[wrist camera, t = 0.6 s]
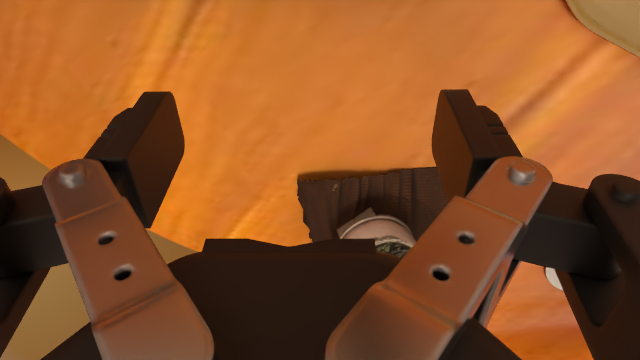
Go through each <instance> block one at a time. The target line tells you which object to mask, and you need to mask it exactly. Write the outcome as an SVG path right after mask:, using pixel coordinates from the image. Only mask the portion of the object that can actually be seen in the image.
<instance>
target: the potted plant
mask: <svg viewBox="0 0 640 360" xmlns="http://www.w3.org/2000/svg"><path fill="white" fill-rule="evenodd" d="M297 184H298V194H297V196H299V199H298V200H299V202H300V204H301V205H302V207H303V209H304V211H303V222H304V223H305V224H306V225H307V226H308V227H309V229H310V232H309V237H310V238H311V239H312V241H313V242H318V241H323V240H328V239H375V246H376V251H378V252H383V253H386V254H389V255H392V256H395V257H397V258H399V259H403V258H404V256H405V255H406V254H407V253H408V252H409V250H410V249H411V248H412V247H413V246H414V244H415V243H416V242H417V241H418V240H419V238H420V237H421V236H422V235H423V234H424V232H425V231H426V230H427V229H428V228H429V226H430V225H431V224H432V223H433V222H434V220H435V219H436V218H437V217H438V216H439V214H440V213H441V212H442V211H443V210H444V208H445V207H446V206H447V205H448V200H447V197H446V194H445V191H444V188H443V185H442V182H441V178H440V175H439V172H438V169H437V167H431V168H414V169H412V170H401V171H400V172H398V171H393V172H388V174H386V175H383V174H380V175H379V176H378V175H375V176H371V175H370V176H363V177H362V178H359V179H355V178H354V177H350V178H349V179H345V178H343V179H341V180H336V179H331V180H313V181H311V180H308V181H307V180H304V182H303V181H301V180H299V179H298V180H297Z"/></svg>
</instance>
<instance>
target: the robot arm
mask: <svg viewBox="0 0 640 360" xmlns="http://www.w3.org/2000/svg"><path fill="white" fill-rule="evenodd" d="M184 146H185V144H184V135H183V131H182V127H181V123H180V119H179V115H178V111H177V107H176V103H175V99H174V96H173V94H172V93H171V92H144V93H143V94H142V95H141V97H140V98H139V99H138V101H137V102H136V104H135V105H134V106H133V108H127V109H126V110H124V111H123V112H121V113H120V114H118V115H117V116H115V117H114V118H113V120H112V121H111V122H110V124H109V125H108V126H107V129H105V130H104V131H103V133H102V134H101V137H99V138H98V139H97V141H96V142H95V143H94V145H93V146H92V147H91V149H90V150H89V151H88V153H87V154H86V155H85V157H84V158H83V159H77V160H72V161H69V162H66V163H63V164H61V165H59V166H57V167H55V168H53V169H52V170H51V171H49V172H48V173H47V174H46V176H45V177H44V179H43V181H42V185H41V186H36V187H31V188H26V189H20V190H15V191H11V190H10V189H9V187H8V185H7V183H6V182H5V180H4V179H2V178H0V357H1V355H2V354H3V352H4V350H5V348H6V347H7V345H8V343H9V341H10V340H11V338H12V336H13V334H14V332H15V331H16V329H17V327H18V325H19V324H20V322H21V320H22V318H23V316H24V315H25V312H26V310H27V309H28V307H29V306H30V304H31V302H32V300H33V299H34V297H35V295H36V293H37V291H38V290H39V288H40V286H41V284H42V283H43V281H44V279H45V277H46V275H47V274H48V272H49V270H50V268H51V267H53V266H58V265H61V264H66V263H69V265H70V267H71V270H72V273H73V276H74V278H75V281H76V284H77V286H78V289H79V292H80V294H81V297H82V300H83V302H84V305H85V308H86V310H87V313H88V316H89V318H90V321H91V322H89V323H88V324H87V325H85V326H84V327H83V328H81V329H80V330H79V331H78V332H76V333H75V334H74V335H72V336H71V337H70V338H68V339H67V340H66V341H64V342H63V343H62V344H60V345H59V346H58V347H56V348H55V349H54V350H53V351H51V352H50V353H48V354H47V355H46V356H45V357H43V358H42V359H41V360H522V359H520V358H519V357H518V356H517V355H516V354H515V353H514V352H512V351H511V350H510V349H509V348H508V347H507V346H506V345H504V344H503V343H502V342H501V341H500V340H499V339H498V338H496V337H495V336H494V335H493V334H492V333H491V332H490V331H488V330H487V329H486V327H487V325H488V323H489V321H490V318H491V316H492V314H493V312H494V310H495V308H496V306H497V304H498V303H499V301H500V299H501V297H502V295H503V294H504V292H505V290H506V288H507V286H508V285H509V283H510V281H511V279H512V277H513V276H514V274H515V272H516V270H517V268H518V267H519V265H520V263H521V261H524V262H528V263H532V264H536V265H540V266H544V267H548V268H552V269H555V272H556V275H557V277H558V279H559V281H560V284H561V286H562V288H563V291H564V293H565V295H566V297H567V300H568V302H569V304H570V307H571V309H572V311H573V313H574V316H575V318H576V320H577V322H578V325H579V327H580V329H581V332H582V334H583V336H584V338H585V341H586V343H587V345H588V348H589V350H590V352H591V354H592V357H593V359H594V360H640V181H638V180H636V179H633V178H631V177H627V176H623V175H617V174H604V175H600V176H597V177H595V178H594V179H593V180H592V182H591V184H590V186H589V188H588V189H584V188H579V187H574V186H569V185H564V184H559V183H556V182H552V181H553V178H552V175H551V173H550V171H549V170H548V169H547V168H546V167H544V166H543V165H541V164H540V163H538V162H536V161H533V160H531V159H527V158H523V156H522V155H521V153H520V151H519V150H518V148H517V147H516V145H515V143H514V142H513V140H512V138H511V137H510V135H508V132H507V130H506V128H505V127H503V123H502V122H501V120H500V118H499V117H498V115H497V114H496V113H494V112H493V111H492V110H490V109H489V108H487V107H486V106H477V105H476V104H475V102H474V100H473V98H472V96H471V94H470V93H469V91H468V90H467V89H459V90H441V91H440V94H439V97H438V103H437V109H436V115H435V121H434V128H433V134H432V153H433V157H434V160H435V163H436V166H437V169H438V172H439V175H440V178H441V182H442V185H443V188H444V191H445V194H446V197H447V200H448V205H447V206H446V207H445V208H444V210H443V211H442V212H441V213H440V214H439V216H438V217H437V218H436V219H435V220H434V222H433V223H432V224H431V225H430V226H429V228H428V229H427V230H426V231H425V232H424V234H423V235H422V236H421V237H420V238H419V240H418V241H417V242H416V243H415V244H414V246H413V247H412V248H411V249H410V250H409V252H408V253H407V254H406V255H405V256H404V258H403V259H399V258H397V257H395V256H392V255H389V254H386V253H383V252H378V251H376V246H375V239H328V240H323V241H318V242H313V243H308V244H302V245H297V246H291V247H287V246H281V245H276V244H271V243H266V242H261V241H256V240H251V239H206V240H205V243H204V247H203V250H202V252H197V253H194V254H190V255H187V256H184V257H182V258H179V259H177V260H175V261H173V262H171V263H169V264H166V263H165V261H164V259H163V257H162V256H161V254H160V253H159V251H158V249H157V248H156V246H155V244H154V243H153V241H152V239H151V238H150V236H149V234H148V233H147V231H146V229H145V228H151V226H152V223H153V221H154V219H155V217H156V215H157V212H158V210H159V208H160V206H161V204H162V201H163V199H164V197H165V195H166V192H167V190H168V188H169V186H170V184H171V181H172V179H173V177H174V175H175V173H176V170H177V168H178V166H179V164H180V161H181V159H182V157H183V154H184Z"/></svg>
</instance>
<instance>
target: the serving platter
mask: <svg viewBox="0 0 640 360" xmlns="http://www.w3.org/2000/svg"><path fill="white" fill-rule="evenodd" d="M566 3H567V5H568V7H569V8H570V10H571V11H572V13H573V15H574V16H575V17H576V18H577V19H578V20H579V22H580V23H582V24H583V25H584V26H585V27H586V28H587V29H589V30H590V31H592V32H593V33H595V34H597V35H598V36H600V37H602V38H604V39H606V40H608V41H609V42H611V43H613V44H615V45H617V46H619V47H621V48H622V49H624V50H626V51H628V52H630V53H632V54H634V55H635V56H637V57H639V58H640V0H566Z"/></svg>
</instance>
